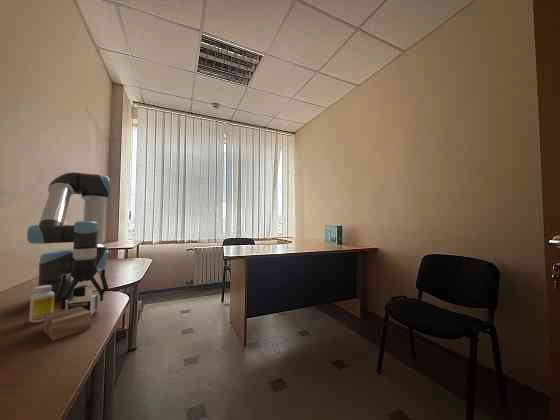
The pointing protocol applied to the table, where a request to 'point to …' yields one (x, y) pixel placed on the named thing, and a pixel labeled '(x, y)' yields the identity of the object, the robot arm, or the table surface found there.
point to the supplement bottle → (41, 303)
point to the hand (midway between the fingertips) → (82, 313)
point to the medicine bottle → (83, 298)
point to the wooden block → (67, 322)
